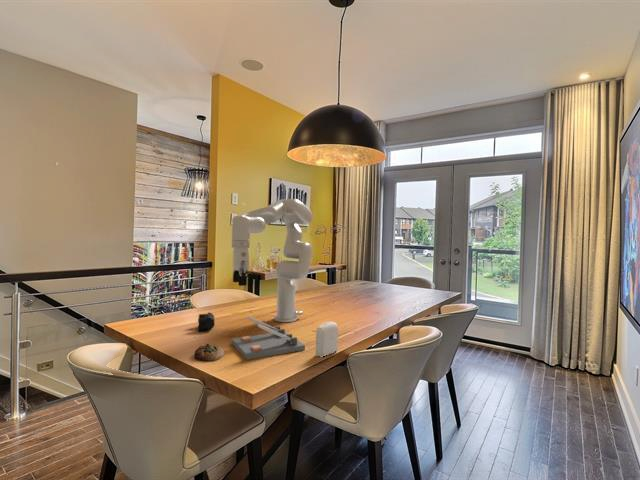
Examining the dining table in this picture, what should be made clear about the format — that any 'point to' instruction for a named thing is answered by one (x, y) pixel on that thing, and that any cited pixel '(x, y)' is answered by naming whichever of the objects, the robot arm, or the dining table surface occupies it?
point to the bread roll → (208, 353)
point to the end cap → (205, 322)
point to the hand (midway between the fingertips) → (239, 283)
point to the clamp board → (266, 345)
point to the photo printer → (326, 338)
